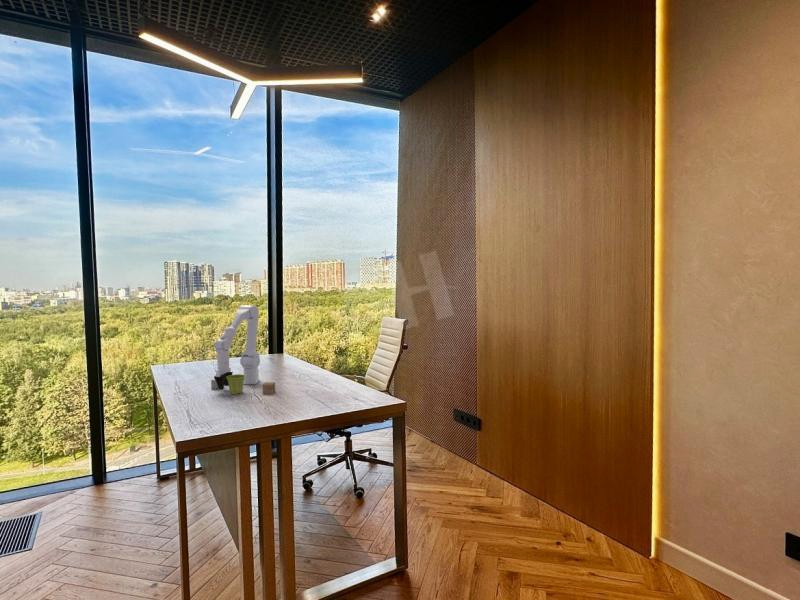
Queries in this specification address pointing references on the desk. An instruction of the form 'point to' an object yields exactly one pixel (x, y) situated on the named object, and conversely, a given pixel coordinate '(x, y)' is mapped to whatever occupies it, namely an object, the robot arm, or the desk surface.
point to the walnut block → (269, 387)
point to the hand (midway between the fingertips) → (223, 387)
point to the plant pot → (235, 383)
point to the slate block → (213, 384)
